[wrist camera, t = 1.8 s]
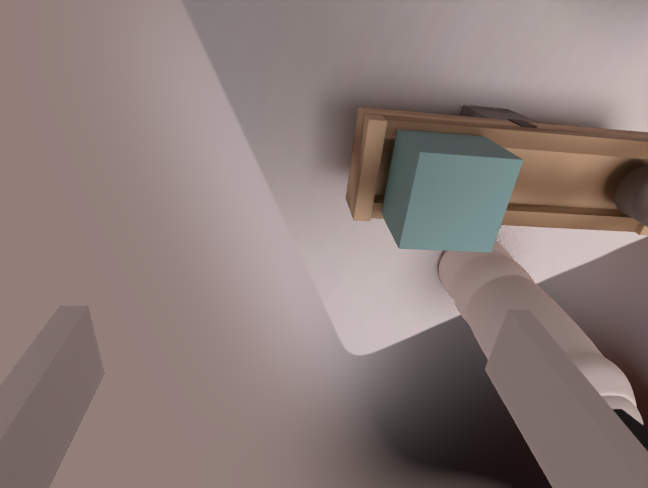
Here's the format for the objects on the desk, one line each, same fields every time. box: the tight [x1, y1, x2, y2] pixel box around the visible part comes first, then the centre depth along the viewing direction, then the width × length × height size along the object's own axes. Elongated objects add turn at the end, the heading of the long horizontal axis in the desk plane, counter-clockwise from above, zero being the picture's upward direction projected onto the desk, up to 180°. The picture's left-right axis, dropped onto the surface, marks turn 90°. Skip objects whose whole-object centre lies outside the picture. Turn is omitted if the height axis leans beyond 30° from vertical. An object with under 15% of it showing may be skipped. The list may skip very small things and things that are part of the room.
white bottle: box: [439, 240, 643, 425], centre depth 32 cm, size 7×7×25 cm
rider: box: [381, 129, 523, 252], centre depth 27 cm, size 6×6×6 cm
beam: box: [346, 105, 648, 235], centre depth 32 cm, size 7×24×12 cm, turn 84°
